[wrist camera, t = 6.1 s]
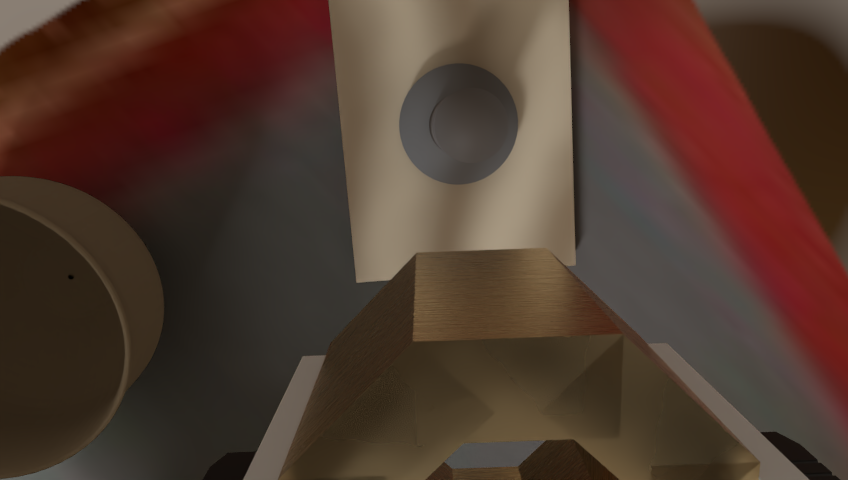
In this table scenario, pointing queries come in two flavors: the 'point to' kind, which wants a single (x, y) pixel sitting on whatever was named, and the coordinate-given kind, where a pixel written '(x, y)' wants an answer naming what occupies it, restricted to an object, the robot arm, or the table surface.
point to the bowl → (67, 320)
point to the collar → (503, 383)
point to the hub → (454, 127)
